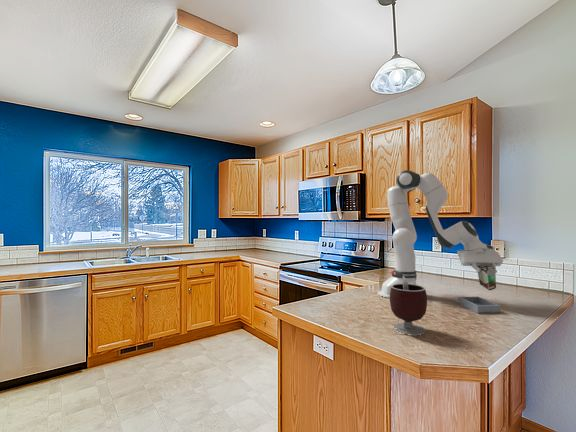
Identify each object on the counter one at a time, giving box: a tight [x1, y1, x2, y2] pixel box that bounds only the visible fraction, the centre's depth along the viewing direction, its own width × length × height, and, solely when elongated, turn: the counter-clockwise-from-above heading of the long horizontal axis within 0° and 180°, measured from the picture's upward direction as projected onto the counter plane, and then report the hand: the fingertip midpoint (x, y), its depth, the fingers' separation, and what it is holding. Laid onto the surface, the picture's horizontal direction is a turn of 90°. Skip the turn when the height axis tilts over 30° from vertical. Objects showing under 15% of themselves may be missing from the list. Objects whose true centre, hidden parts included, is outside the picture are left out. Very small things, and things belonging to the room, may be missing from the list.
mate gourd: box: [389, 276, 428, 336], centre depth 124 cm, size 16×14×20 cm
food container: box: [477, 265, 498, 291], centre depth 153 cm, size 12×6×10 cm, turn 172°
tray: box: [457, 296, 501, 314], centre depth 152 cm, size 11×17×4 cm, turn 0°
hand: (487, 272), depth 154 cm, fingers closed on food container, 6 cm apart
